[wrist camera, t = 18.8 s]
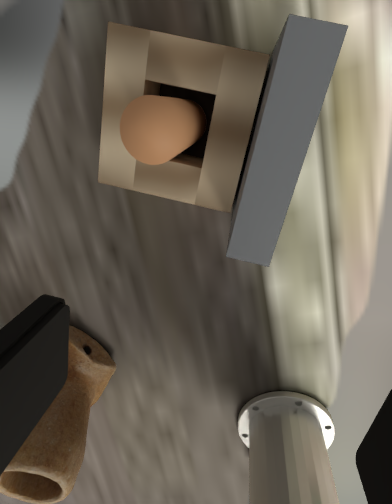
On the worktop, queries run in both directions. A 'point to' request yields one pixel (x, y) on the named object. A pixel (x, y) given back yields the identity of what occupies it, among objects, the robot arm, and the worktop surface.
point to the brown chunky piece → (60, 428)
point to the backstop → (282, 134)
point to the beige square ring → (188, 77)
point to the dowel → (160, 127)
